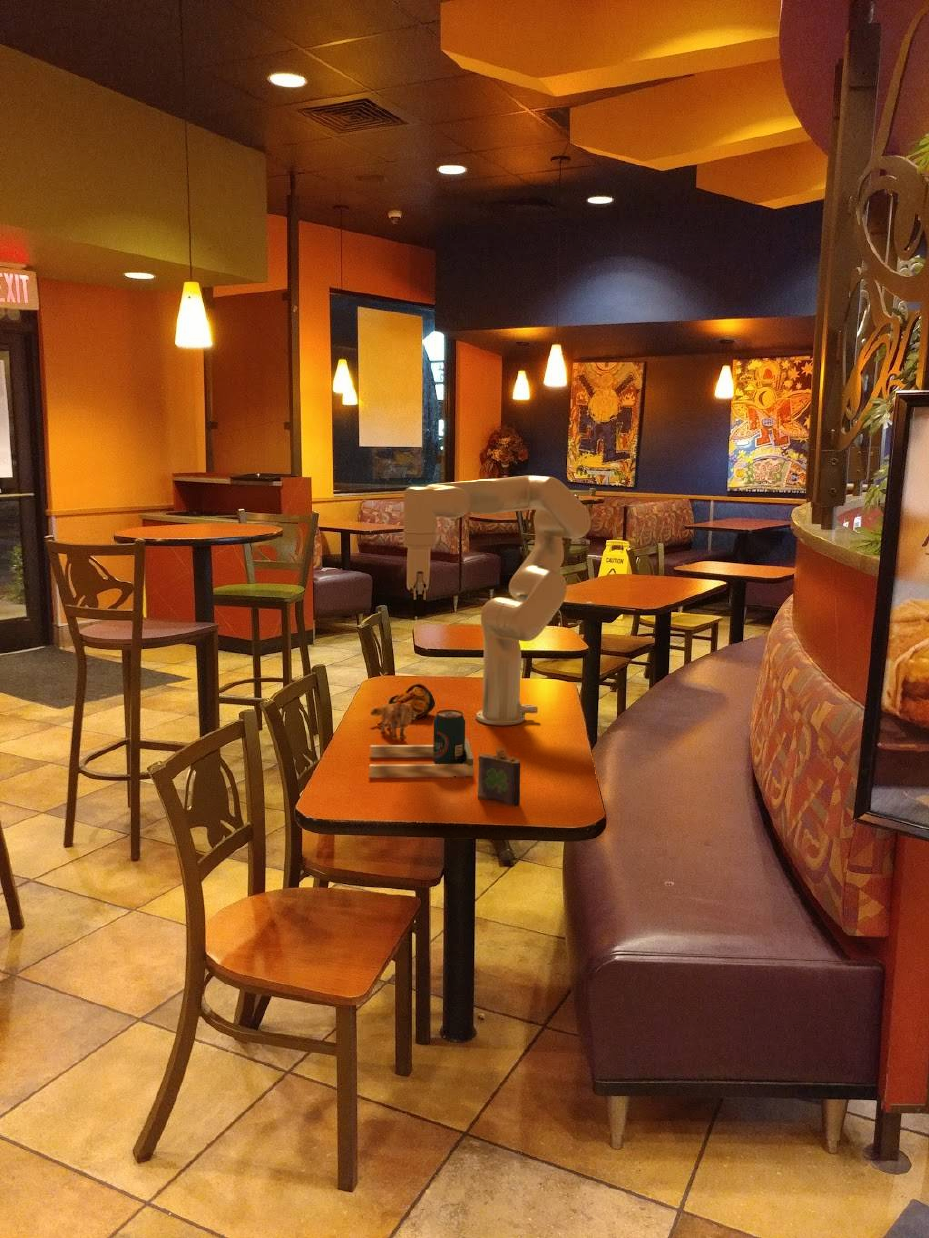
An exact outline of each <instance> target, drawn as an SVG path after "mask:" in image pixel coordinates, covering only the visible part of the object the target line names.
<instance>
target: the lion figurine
mask: <svg viewBox="0 0 929 1238" xmlns="http://www.w3.org/2000/svg"><path fill="white" fill-rule="evenodd" d="M383 706H384V708H383V710H382V715H381V721H380V722H379V723H377V726H378V727H379V726H381V730H380V733H381V734H385V733H386V729H385V726H386V728H387V729H391V733H392V734H391V735H392V737H391V738H392V739H391V740H392V741H397V740H398V735H397V729H400V730H399V737H400V738H402V739H405V738H406V737H407V736H406V735H405V733H404V731H405V728H407V727H408V724H409V725H410V723H411V722H412V720H413V721H414V720H415V719H416V718H415V717H416V716H417V712H415V711H414V710H413V709H412V708H411V705H410V704H402V705H399V706H398V707H395V708H394V707H393V706H392V705H389V704H386V705H383ZM386 721H387V722H386Z"/></svg>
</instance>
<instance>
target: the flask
mask: <svg viewBox="0 0 929 1238" xmlns="http://www.w3.org/2000/svg"><path fill="white" fill-rule="evenodd" d="M505 750H506V749H505V748H499V749H498V750H495V753H497V754H496V755H494V754H490V753H481V754H479V755H478V777H477V780H478V781H477V798H478V799H481V800H483V801H485V800H486V801H489V802H492V803H500V804H504V805H506V806H507V805H508V806H511V807H518V806H520V803H521V802H520V800H521V787H520V786H521V761H520V760H519V759H515V757H512V756H510V757H509V756H508V755H507V753H504V751H505Z"/></svg>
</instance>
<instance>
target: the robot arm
mask: <svg viewBox="0 0 929 1238" xmlns="http://www.w3.org/2000/svg"><path fill="white" fill-rule="evenodd" d="M529 510H535V513H534V516H533V526H534V533H535V535H534V536H535V541H534V545H533V548H532V550H531V551H530V553H529V554H528V555H527V557H526V559H525V560H524V561H523V563H522V564H520V566H519V568H518V569H517V570H516V572H515V573H514V574H513V576H512V577H511V579H510V581H509V584H508V591H509V594H510V596H512V597H513V599H512V598H508V597H500V596H499V597H493V598H491V599H489V600H487V602H485V603H484V605H483V606H482V609H481V612H480V613H481V614H480V624H481V630H482V631H481V632H482V635H483V637H482V638H483V669H482V670H483V673H482V674H483V675H482V676H483V677H482V678H483V680H482V681H483V682H482V709H481V710H479V711H478V712H476V714H475V719H476V720H477V721H478V722H479V723H483V724H487V725H491V726H513V725H519V724H521V723H523V722H524V721H525V720H526V714H538V711H539V710H538V709H539V708H538V705H532V704H529V703H528V704H523V703H522V702H521V700H520V698H521V697H520V696H521V693H520V692H521V668H522V667H521V665H522V650H521V644H520V641H521V642H530V641H533V640H535V639H536V638H537V637H539V635H541V633H542V632H543V631H544V630H545V629H546V627H547V625H548V624H549V623H550V622H551V620H552V619H553V618H554V616H555V614H557V612H558V611H559V609H560V607H561V606H562V605H563V603H564V602H565V599H566V596H567V591H568V586H567V585H568V584H567V580H566V578H565V577H564V575H563V574H562V573H560V572H559V569H560V568H561V567H562V564H563V562H564V558H565V551H564V545H563V543H564V542H563V538H564V539H571V540H575V539H576V540H577V539H581V538H583V537H585V536H586V535H587V534H588V532H589V531H590V529H591V526H592V525H591V524H592V519H591V514H590V512H589V510H588V509H587V507H586V506H585V505H584V504H583V503H582V502H581V501H580V500H579V498H578V497H577V496H576V495H575V494H574V493H573V492H572V491H571V490H570V488H569V487H568V486H566V484H564V483H563V482H562V481H561V480H559V479H558V478H556V477H553V476H545V475H544V476H543V475H542V476H541V475H521V476H519V475H517V476H511V477H501V478H488V479H477V480H467V481H455V482H443V483H432V484H431V483H430V484H428V485H426V486H409V487H407V488H406V489H404V493H403V541H402V542H403V547H404V548H407V553H406V554H407V555H406V588H407V590H408V591H411V598H410V599H411V602H410V603H411V609H412V610H411V611H412V616H413V617H415V618H416V617H417V618H418V617H419V618H421V617H423V618H426V617H427V603H428V602H427V598H426V597H427V596H426V591H427V590H428V589H429V585H430V572H431V549H433V548H436V544H437V543H436V542H437V539H436V538H437V535H436V533H437V518H443V519H454V520H455V519H458V518H462V517H463V516H464V515H466V514H467V513H473V514H474V513H475V514H484V515H490V514H491V515H493V514H494V515H495V514H505V513H512V512H521V511H529ZM411 589H412V590H411Z"/></svg>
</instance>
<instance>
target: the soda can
mask: <svg viewBox="0 0 929 1238" xmlns="http://www.w3.org/2000/svg"><path fill="white" fill-rule="evenodd" d="M465 738H466V719H465V717H464V713H463V712H462V711H460V710H457V709H442V710H439V711H437V712H436V716H435V718H434V720H433V743H432V745H433V757H432V761H433V764H464V761H465Z"/></svg>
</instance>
